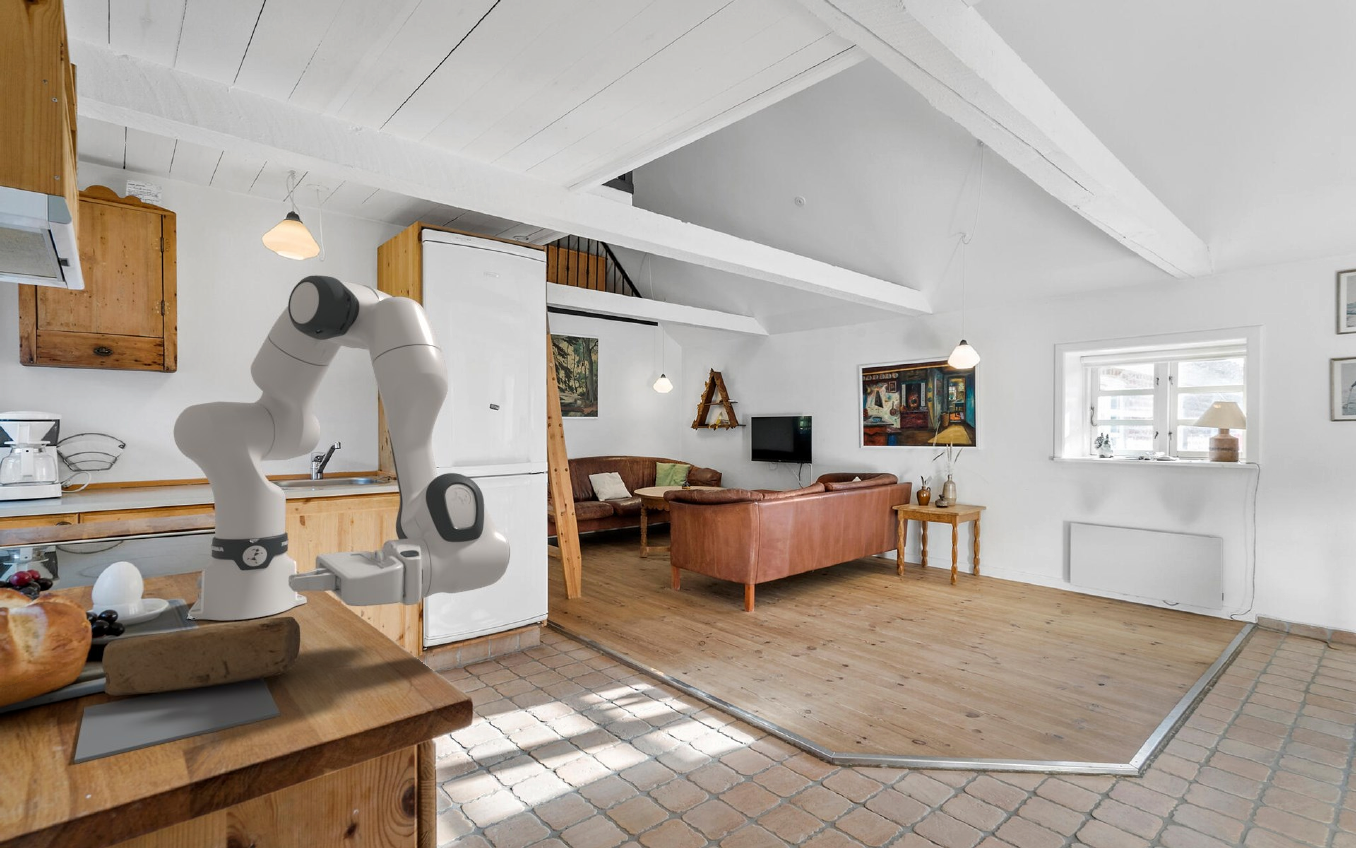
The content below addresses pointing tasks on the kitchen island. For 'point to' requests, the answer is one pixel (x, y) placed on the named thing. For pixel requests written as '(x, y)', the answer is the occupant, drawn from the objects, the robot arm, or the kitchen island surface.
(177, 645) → the block
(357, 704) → the kitchen island surface
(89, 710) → the mat
